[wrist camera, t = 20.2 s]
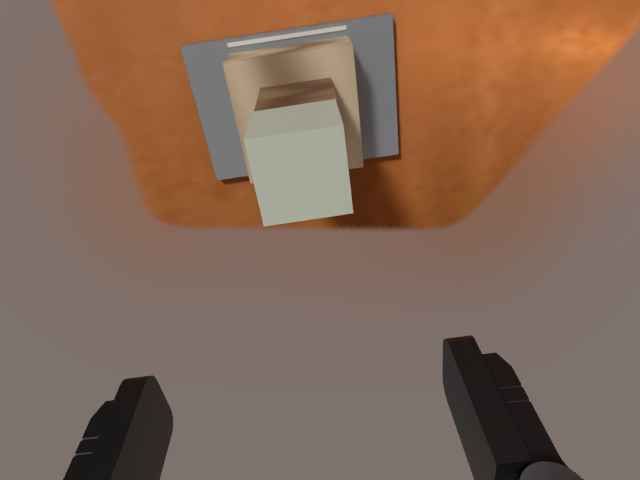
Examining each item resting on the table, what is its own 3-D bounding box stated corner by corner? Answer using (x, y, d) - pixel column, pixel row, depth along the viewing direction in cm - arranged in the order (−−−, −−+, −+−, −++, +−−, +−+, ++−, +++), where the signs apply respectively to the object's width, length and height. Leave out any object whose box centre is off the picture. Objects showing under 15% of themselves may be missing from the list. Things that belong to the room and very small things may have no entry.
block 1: (330, 77, 32) (337, 99, 26) (338, 145, 34) (346, 177, 29) (260, 87, 32) (253, 111, 27) (273, 154, 34) (269, 188, 29)
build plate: (390, 13, 34) (392, 14, 33) (396, 151, 40) (398, 154, 39) (182, 45, 34) (180, 46, 34) (218, 176, 40) (217, 180, 39)
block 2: (335, 98, 26) (343, 124, 22) (344, 176, 29) (353, 213, 25) (251, 111, 27) (243, 140, 22) (268, 187, 29) (263, 226, 25)
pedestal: (347, 36, 34) (353, 44, 30) (357, 149, 39) (363, 167, 35) (229, 53, 34) (222, 63, 31) (254, 164, 39) (250, 183, 35)
